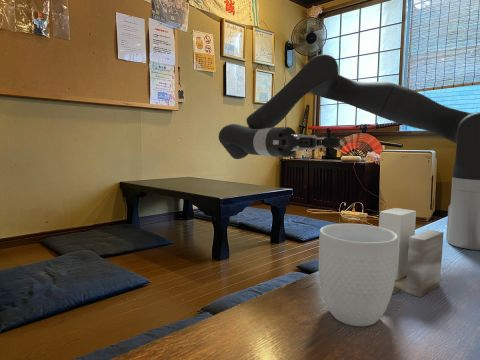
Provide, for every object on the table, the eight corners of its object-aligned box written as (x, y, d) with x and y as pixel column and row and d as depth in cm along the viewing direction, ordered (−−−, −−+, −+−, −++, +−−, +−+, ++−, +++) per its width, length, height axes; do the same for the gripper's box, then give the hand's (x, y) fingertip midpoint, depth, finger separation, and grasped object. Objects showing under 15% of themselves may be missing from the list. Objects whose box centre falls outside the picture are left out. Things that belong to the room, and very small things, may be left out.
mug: (362, 288, 62) (366, 217, 60) (423, 314, 53) (429, 231, 51) (301, 310, 54) (303, 228, 52) (360, 345, 45) (365, 247, 43)
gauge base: (341, 275, 67) (343, 226, 66) (369, 264, 74) (371, 218, 73) (414, 301, 57) (417, 242, 56) (439, 285, 63) (443, 232, 62)
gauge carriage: (366, 278, 63) (369, 214, 62) (392, 266, 69) (395, 207, 68) (387, 285, 60) (391, 218, 59) (412, 272, 66) (416, 211, 65)
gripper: (254, 126, 83) (306, 124, 71) (293, 128, 92) (346, 126, 80) (254, 157, 84) (305, 160, 71) (293, 156, 93) (345, 158, 80)
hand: (327, 142), depth 76 cm, fingers open, 8 cm apart
